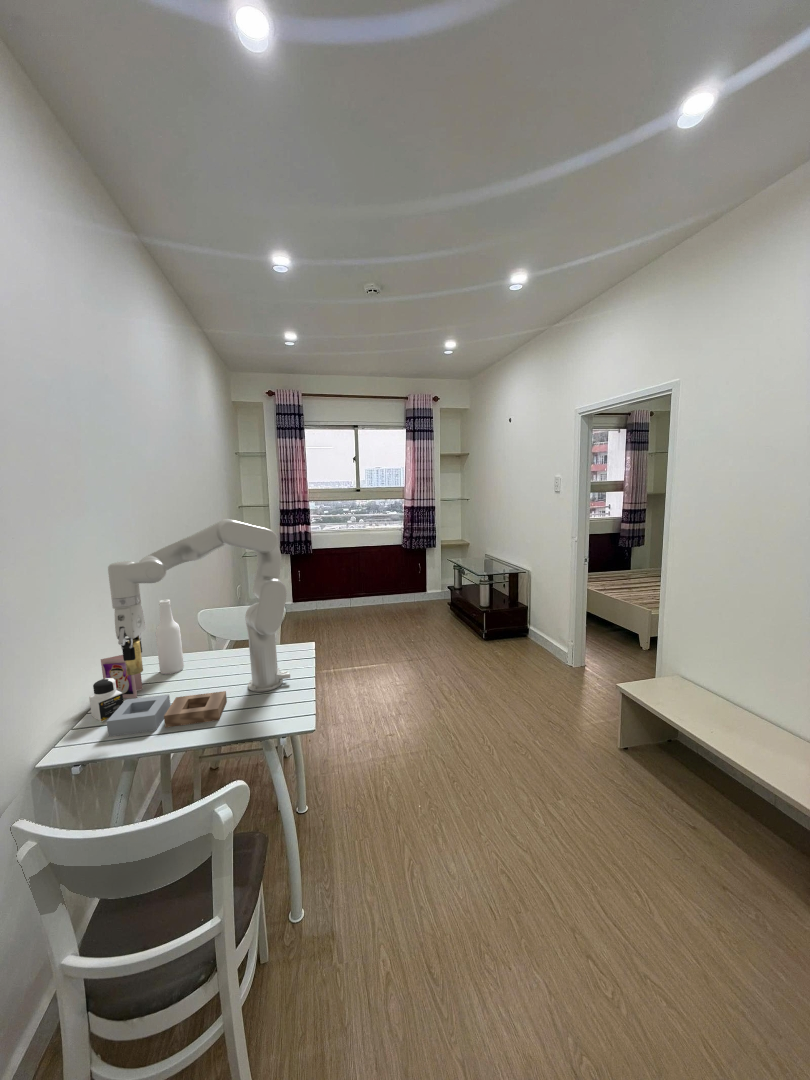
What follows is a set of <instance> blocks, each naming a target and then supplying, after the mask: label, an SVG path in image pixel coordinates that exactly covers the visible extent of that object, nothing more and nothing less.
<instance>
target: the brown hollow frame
mask: <svg viewBox="0 0 810 1080" xmlns="http://www.w3.org/2000/svg"><path fill="white" fill-rule="evenodd" d="M227 700H228V699H227V690H224V691H216V692H207V693H201V694H200V693H198V694H192V695H191V694H190V695H185V696H182V695H181V696H176V697H175V698H174V700H173V702H172V703H170V705H171V706H170V707H169V709H168V710H167V712H166V713H165V715H164V719H163V721H164V728H172V727H181V726H187V725H194V724H201V723H208V722H216V721H220V720H221V717H222V715H223V712H224V710H225V707H226V705H227V702H228V701H227Z"/></svg>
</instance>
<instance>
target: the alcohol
mask: <svg viewBox="0 0 810 1080" xmlns="http://www.w3.org/2000/svg"><path fill="white" fill-rule="evenodd" d="M158 603H159V604H158V605H159V617H160V618H159V624H158V625H157V626H156V628H155V640H156V641H155V642H156V648H157V649H156V650H157V658H158V667H159V672H160V673H161V674H162V675H173V674H177V673H179V672H181V671H183V668H184V667H185V663H184V662H185V661H184V654H183V647H182V646H183V645H182V644H183V643H182V635H181V628H180V625H179V623H178V622H176V621H175V620H174V617H173V611H172V607H171V606H172V605H171V603H172V602H171V599H167V598H166V599H161V600H159V601H158Z"/></svg>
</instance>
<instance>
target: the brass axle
mask: <svg viewBox="0 0 810 1080" xmlns="http://www.w3.org/2000/svg"><path fill="white" fill-rule="evenodd" d="M125 641H126V642H128V643H129V640H125ZM133 647H134V648H135V657H136V659H135V660H128V661H125V663H126V671H127V675H136V674H139V673H141V674H142V672H144V665H143V658H142V657H143V656H142V653H141V647H140V640H133Z"/></svg>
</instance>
